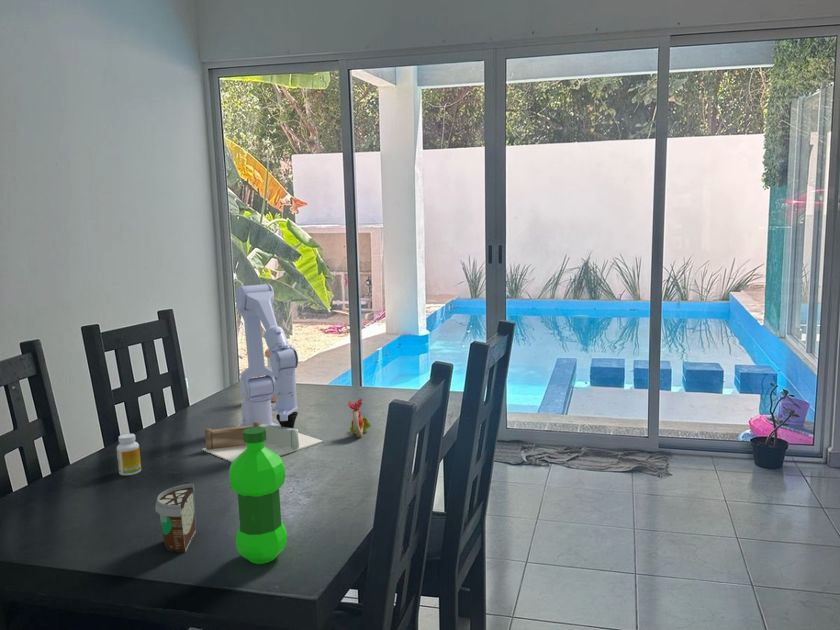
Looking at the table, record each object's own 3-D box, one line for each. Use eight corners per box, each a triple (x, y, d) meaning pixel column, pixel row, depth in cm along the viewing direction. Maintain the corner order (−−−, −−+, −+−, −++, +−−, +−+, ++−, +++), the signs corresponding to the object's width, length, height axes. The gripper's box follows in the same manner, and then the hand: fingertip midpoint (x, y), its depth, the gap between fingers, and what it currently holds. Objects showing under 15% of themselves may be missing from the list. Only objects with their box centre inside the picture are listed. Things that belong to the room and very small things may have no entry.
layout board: (202, 450, 203) (202, 448, 203) (280, 428, 221) (280, 426, 221) (243, 467, 188) (243, 465, 188) (323, 442, 206) (323, 440, 206)
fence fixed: (206, 447, 203) (204, 427, 203) (261, 441, 207) (260, 421, 207) (206, 450, 202) (204, 429, 201) (262, 443, 206) (260, 423, 205)
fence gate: (264, 441, 206) (263, 424, 206) (300, 447, 200) (299, 429, 199) (259, 443, 205) (258, 425, 204) (296, 449, 199) (295, 431, 198)
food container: (167, 530, 152) (163, 484, 150) (197, 528, 152) (194, 482, 151) (150, 558, 140) (146, 508, 138) (183, 555, 140) (179, 506, 139)
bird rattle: (370, 444, 210) (371, 423, 218) (368, 414, 204) (368, 394, 212) (349, 445, 210) (350, 424, 218) (346, 415, 204) (347, 395, 212)
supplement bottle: (146, 469, 188) (142, 433, 187) (129, 477, 184) (126, 440, 182) (130, 467, 191) (127, 431, 189) (114, 474, 186) (110, 437, 184)
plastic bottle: (224, 566, 136) (214, 436, 132) (256, 541, 145) (247, 420, 142) (270, 574, 132) (261, 441, 128) (299, 548, 142) (292, 424, 138)
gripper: (275, 385, 210) (277, 431, 212) (267, 399, 195) (270, 447, 197) (299, 384, 210) (302, 430, 212) (293, 397, 196) (296, 446, 198)
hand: (288, 438), depth 205 cm, fingers closed
